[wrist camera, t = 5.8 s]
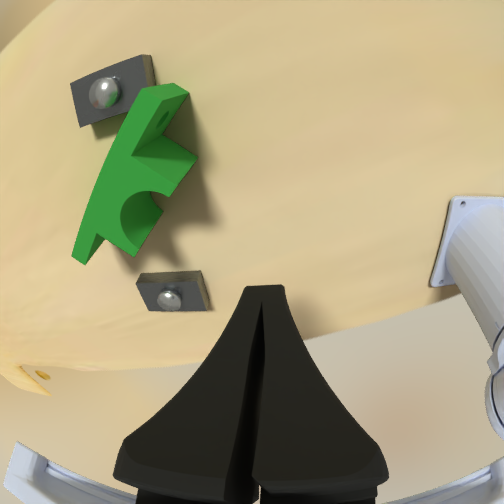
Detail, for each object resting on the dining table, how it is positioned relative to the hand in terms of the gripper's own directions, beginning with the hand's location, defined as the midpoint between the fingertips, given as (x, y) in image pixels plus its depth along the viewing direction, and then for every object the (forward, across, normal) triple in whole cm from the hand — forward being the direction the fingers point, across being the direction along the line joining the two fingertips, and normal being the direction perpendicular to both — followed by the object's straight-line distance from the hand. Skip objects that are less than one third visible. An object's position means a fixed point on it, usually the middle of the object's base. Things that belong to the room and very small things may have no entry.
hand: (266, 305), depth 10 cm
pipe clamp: (+9, +7, -3) cm, 12 cm away
